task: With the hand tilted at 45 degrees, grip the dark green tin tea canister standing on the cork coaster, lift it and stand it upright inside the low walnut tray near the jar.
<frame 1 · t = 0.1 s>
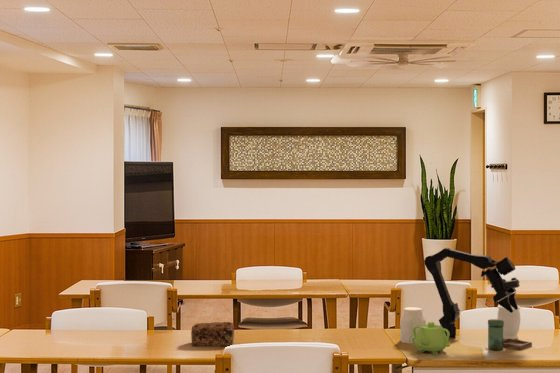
hand: (514, 310, 366), 15 cm above the table, tool tilted 35°, fingers open, 9 cm apart
cork coaster: (495, 350, 351), on the table
bread: (212, 345, 363), on the table
tea canister: (495, 349, 351), resting on cork coaster
jar: (508, 338, 378), on the table
walnut tray: (514, 347, 358), on the table
teapot: (430, 352, 349), on the table
jar 2: (412, 341, 371), on the table
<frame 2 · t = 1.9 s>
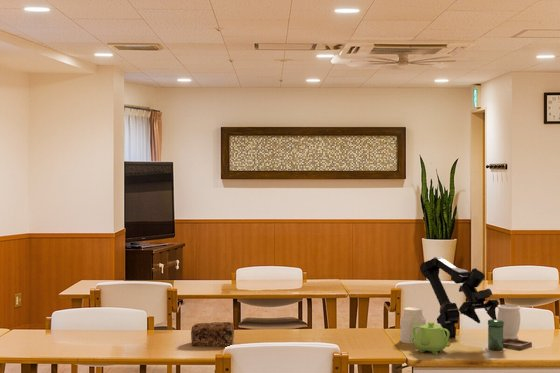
hand: (487, 322, 356), 12 cm above the table, tool tilted 45°, fingers open, 9 cm apart
nothing on the table moved.
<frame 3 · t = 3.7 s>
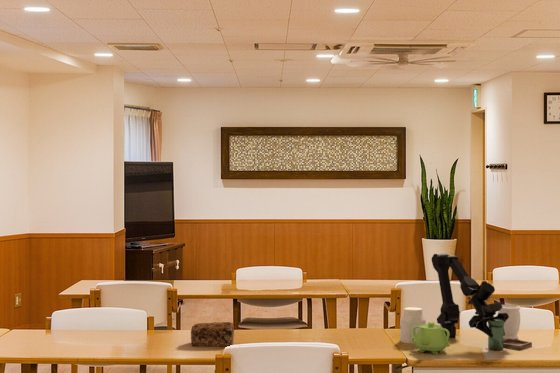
hand: (498, 335, 350), 7 cm above the table, tool tilted 45°, fingers closed on tea canister, 6 cm apart
tea canister: (495, 349, 351), point 1 cm above the table, touching cork coaster, gripper
everything else where it was.
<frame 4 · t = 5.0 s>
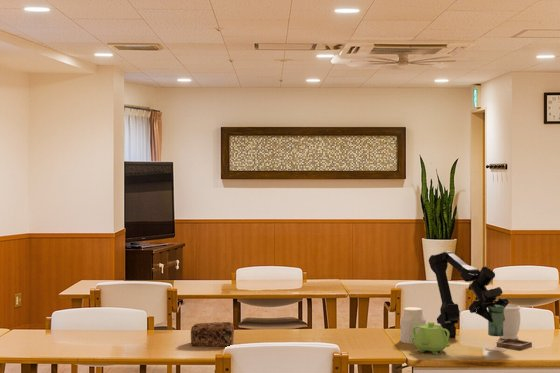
hand: (498, 321, 350), 13 cm above the table, tool tilted 45°, fingers closed on tea canister, 6 cm apart
tea canister: (495, 334, 351), point 7 cm above the table, touching gripper
everything else where it was.
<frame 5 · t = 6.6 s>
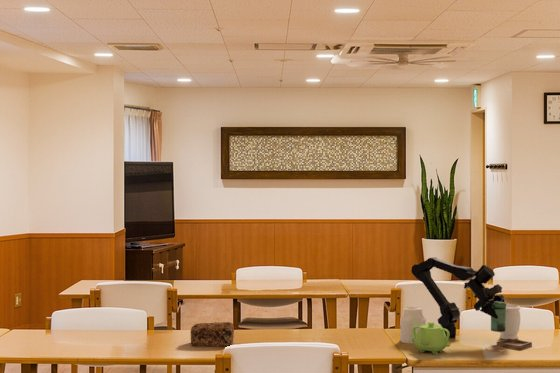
hand: (501, 317, 362), 13 cm above the table, tool tilted 45°, fingers closed on tea canister, 6 cm apart
tea canister: (498, 330, 363), point 6 cm above the table, touching gripper
everything else where it was.
when the fingers open (8 cm above the table, at t = 8.6 s): tea canister stays where it is, resting on walnut tray.
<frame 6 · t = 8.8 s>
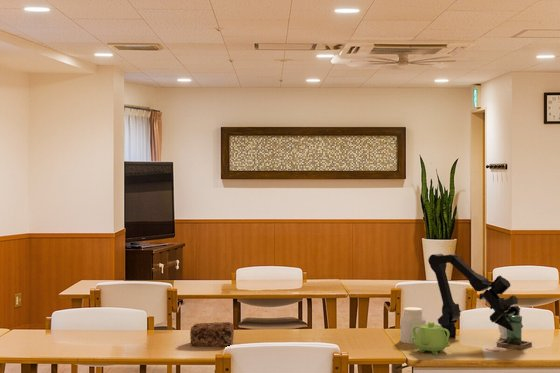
hand: (517, 328, 357), 8 cm above the table, tool tilted 45°, fingers open, 9 cm apart
tea canister: (513, 344, 358), point 1 cm above the table, touching walnut tray
everything else where it was.
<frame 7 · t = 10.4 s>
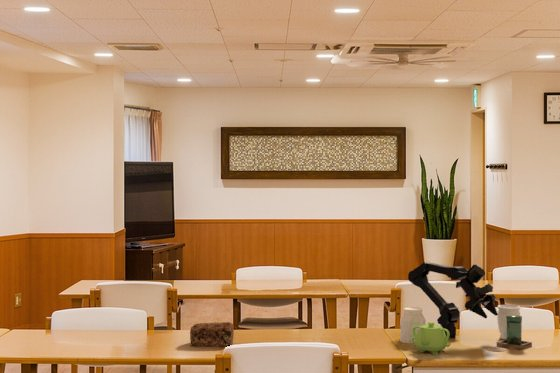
hand: (491, 316, 364), 13 cm above the table, tool tilted 45°, fingers open, 9 cm apart
nothing on the table moved.
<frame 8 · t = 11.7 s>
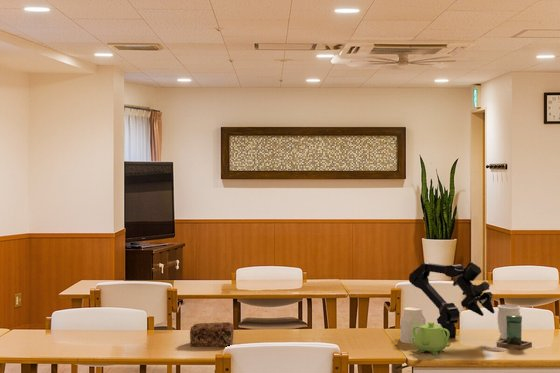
hand: (488, 314, 364), 14 cm above the table, tool tilted 45°, fingers open, 9 cm apart
nothing on the table moved.
at the end: tea canister inside the target area on the walnut tray (0.1 cm from its centre), point 1.2 cm above the walnut tray's base; tea canister tilted 0°; the gripper is holding nothing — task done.
